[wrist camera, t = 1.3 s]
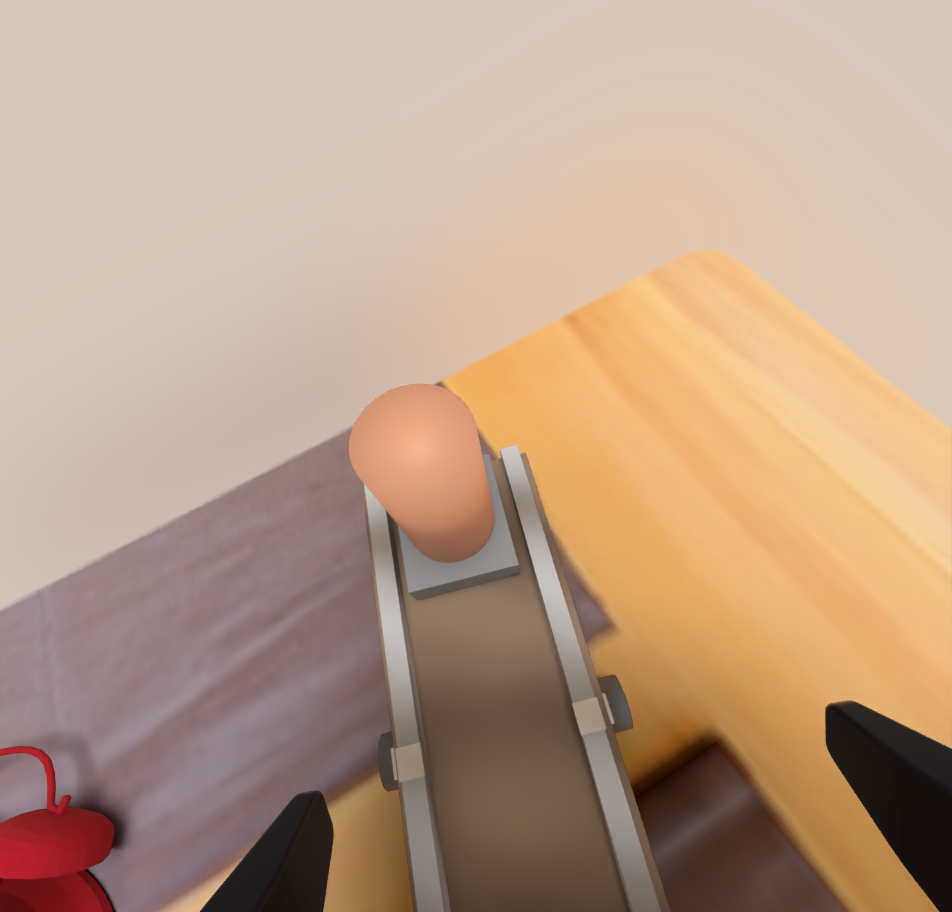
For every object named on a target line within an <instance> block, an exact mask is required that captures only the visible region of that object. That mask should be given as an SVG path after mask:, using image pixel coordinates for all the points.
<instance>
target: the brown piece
mask: <svg viewBox="0 0 952 912" xmlns="http://www.w3.org/2000/svg"><path fill="white" fill-rule="evenodd" d="M500 452H501V459H499V460H495V461H491V465H492V468H493V472H494V476H495V479H496V483H497V487H498V490H499V494H500V498H501V501H502V505H503V509H504V512H505V516H506V520H507V524H508V527H509V531H510V535H511V538H512V542H513V546H514V549H515V553H516V557H517V560H518V564H519V572H520V574H517V575H513V576H509V577H505V578H501V579H497V580H494V581H490V582H486V583H482V584H478V585H474V586H470V587H466V588H462V589H458V590H454V591H450V592H447V593H443V594H439V595H435V596H431V597H427V598H423V599H419V600H417V599H416V598H414V597H413V596H412V595H411V594H409V593H408V586H407V580H406V573H405V567H404V561H403V554H402V548H401V541H400V535H399V528H398V524H397V523H396V522H395V521H394V519H393V518H392V517H391V516H390V515H389V513H388V512H387V511H386V510H385V508H384V507H383V506H382V505H381V503H380V502H379V501H378V500H377V499H376V497H375V496H374V495H373V494H372V492H371V491H370V490H369V489H368V488H367V486H366V485H365V484H364V486H365V494H363V500H364V508H365V517H366V525H367V533H368V541H369V549H370V557H371V566H372V574H373V582H374V590H375V598H376V607H377V615H378V623H379V631H380V639H381V647H382V656H383V664H384V672H385V680H386V688H387V697H388V705H389V713H390V721H391V729H392V732H389V733H385V734H382V735H381V737H380V740H379V746H378V763H379V771H380V776H381V780H382V784H383V786H384V788H385V790H386V791H392V790H396V789H399V795H400V803H401V811H402V819H403V827H404V836H405V844H406V852H407V860H408V868H409V876H410V885H411V893H412V901H413V909H414V912H671V911H670V908H669V905H668V902H667V898H666V895H665V892H664V889H663V886H662V883H661V879H660V876H659V873H658V870H657V867H656V864H655V860H654V857H653V854H652V851H651V848H650V845H649V841H648V838H647V835H646V832H645V829H644V826H643V822H642V819H641V816H640V813H639V810H638V807H637V803H636V800H635V797H634V794H633V791H632V788H631V784H630V781H629V778H628V775H627V772H626V769H625V765H624V762H623V759H622V756H621V753H620V749H619V746H618V743H617V740H616V737H615V734H614V733H616V732H620V731H624V730H628V729H632V728H633V722H632V717H631V713H630V709H629V706H628V703H627V700H626V697H625V694H624V692H623V689H622V687H621V685H620V683H619V681H618V679H617V677H616V676H615V675H610V676H606V677H603V678H599V679H597V677H596V673H595V670H594V667H593V664H592V661H591V658H590V654H589V651H588V648H587V645H586V642H585V639H584V635H583V632H582V629H581V626H580V623H579V620H578V616H577V613H576V610H575V607H574V604H573V601H572V597H571V594H570V591H569V588H568V585H567V582H566V578H565V575H564V572H563V569H562V566H561V563H560V559H559V556H558V553H557V550H556V547H555V544H554V540H553V537H552V534H551V531H550V528H549V525H548V521H547V518H546V515H545V512H544V509H543V505H542V502H541V499H540V496H539V493H538V490H537V486H536V483H535V480H534V477H533V474H532V471H531V467H530V464H529V461H528V458H527V455H526V453H522V454H520V453H519V449H518V446H517V445H515V446H511V447H507V448H503V449H500Z"/></svg>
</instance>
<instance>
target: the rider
mask: <svg viewBox="0 0 952 912" xmlns="http://www.w3.org/2000/svg"><path fill="white" fill-rule="evenodd" d="M349 455H350V460H351V463H352V466H353V468H354V470H355V472H356V474H357V475H358V476H359V478H360V479H361V480H362V481H363V483H364V484H365V485H366V486H367V488H368V489H369V490H370V491H371V492H372V494H373V495H374V496H375V497H376V499H377V500H378V501H379V502H380V503H381V505H382V506H383V507H384V508H385V510H386V511H387V512H388V513H389V515H390V516H391V517H392V518H393V519H394V521H395V522H396V523H397V524H398V528H399V535H400V541H401V548H402V554H403V561H404V567H405V573H406V580H407V586H408V593H409V594H411V595H412V596H413V597H414V598H416V599H417V600H419V599H423V598H427V597H431V596H435V595H439V594H443V593H447V592H450V591H454V590H458V589H462V588H466V587H470V586H474V585H478V584H482V583H486V582H490V581H494V580H497V579H501V578H505V577H509V576H513V575H517V574H520V572H519V564H518V560H517V557H516V553H515V549H514V546H513V542H512V538H511V535H510V531H509V527H508V524H507V520H506V516H505V512H504V509H503V505H502V501H501V498H500V494H499V490H498V487H497V483H496V479H495V476H494V472H493V468H492V465H491V461H490V457H489V454H486V455H482V452H481V448H480V443H479V438H478V434H477V429H476V424H475V420H474V417H473V415H472V413H471V411H470V409H469V407H468V406H467V405H466V403H465V402H464V401H463V400H462V399H461V398H460V397H458V396H457V395H456V394H454V393H453V392H451V391H449V390H447V389H445V388H442V387H439V386H435V385H430V384H410V385H405V386H401V387H398V388H395V389H392V390H390V391H388V392H386V393H384V394H382V395H380V396H379V397H378V398H376V399H375V400H373V401H372V402H371V403H370V404H369V405H368V406H367V407H366V408H365V409H364V410H363V411H362V413H361V414H360V416H359V417H358V419H357V421H356V422H355V424H354V426H353V429H352V432H351V436H350V441H349Z"/></svg>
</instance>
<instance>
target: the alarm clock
mask: <svg viewBox="0 0 952 912" xmlns="http://www.w3.org/2000/svg"><path fill="white" fill-rule="evenodd" d="M13 753H26V754H31V755H33V756H35V757H37V758H39V759H40V761H41V762H42V763H43V765H44V768H45V772H46V775H47V809H40V810H34V811H31V812H27V813H23V814H20V815H18V816H15V817H13V818H10V819H8V820H6V821H4V822H2V823H1V824H0V912H113V910H112V907H111V905H110V903H109V901H108V899H107V897H106V895H105V894H104V892H103V890H102V889H101V887H100V886H99V884H98V883H97V882H96V881H95V880H94V879H93V877H92V876H91V875H90V874H89V873H88V872H86V871H85V869H87V868H90V867H92V866H94V865H96V864H99V863H101V862H102V861H103V860H104V859H105V858H106V857H107V856H108V855H109V853H110V850H111V846H112V843H113V838H114V826H113V824H112V822H111V821H110V820H109V819H108V818H106V817H105V816H104V815H102V814H100V813H97V812H94V811H90V810H85V809H78V808H67V807H68V804H69V802H70V800H71V796H70V795H65V796H63V797H62V799H61V802H60V805H59V807H58V806H57V805H56V804H55V792H56V782H55V771H54V768H53V764H52V760H51V759H50V757H49V756H48V755H47V754H46V753H45V752H43V751H42V750H41V749H37V748H34V747H30V746H17V747H11V748H5V749H0V756H2V755H8V754H13Z"/></svg>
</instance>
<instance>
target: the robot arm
mask: <svg viewBox="0 0 952 912" xmlns="http://www.w3.org/2000/svg"><path fill="white" fill-rule="evenodd" d="M825 725H826V745H827V748H828V751H829V753H830V755H831V757H832V759H833V760H834V762H835V763H836V765H837V766H838V768H839V769H840V771H841V772H842V774H843V775H844V777H845V778H846V780H847V781H848V783H849V784H850V786H851V787H852V789H853V790H854V792H855V794H856V795H857V797H858V798H859V800H860V801H861V803H862V804H863V806H864V807H865V809H866V810H867V812H868V813H869V815H870V816H871V818H872V819H873V821H874V822H875V824H876V825H877V827H878V828H879V830H880V831H881V833H882V834H883V836H884V837H885V839H886V840H887V842H888V843H889V845H890V846H891V848H892V849H893V851H894V852H895V854H896V855H897V856H898V858H899V859H900V861H901V862H902V863H903V865H904V866H905V867H906V869H907V870H908V871H909V873H910V874H911V875H912V877H913V878H914V879H915V881H916V882H917V883H918V885H919V886H920V887H921V888H922V890H923V891H924V892H925V894H926V895H927V896H928V897H929V899H930V900H931V901H932V903H933V904H934V905H935V906H936V908H937V909H938V910H939V912H952V749H951V748H949V747H947V746H945V745H943V744H941V743H939V742H937V741H935V740H933V739H931V738H929V737H927V736H925V735H923V734H921V733H919V732H917V731H915V730H912V729H910V728H908V727H906V726H904V725H902V724H900V723H898V722H896V721H894V720H892V719H890V718H888V717H886V716H884V715H882V714H880V713H878V712H876V711H874V710H872V709H870V708H868V707H866V706H863V705H861V704H859V703H857V702H854V701H842V702H836V703H830V704H828V705H827V707H826V710H825ZM333 836H334V832H333V824H332V821H331V818H330V815H329V812H328V809H327V806H326V803H325V800H324V797H323V795H322V793H321V792H320V791H317V790H316V791H310V792H304V793H299V794H297V795H296V796H295V797H294V798H293V799H292V800H291V801H290V803H289V804H288V805H287V806H286V807H285V809H284V810H283V811H282V812H281V813H280V815H279V816H278V817H277V818H276V820H275V821H274V822H273V823H272V824H271V826H270V827H269V828H268V829H267V830H266V832H265V833H264V834H263V835H262V836H261V838H260V839H259V840H258V841H257V843H256V844H255V845H254V846H253V847H252V849H251V850H250V851H249V852H248V853H247V855H246V856H245V857H244V858H243V860H242V861H241V862H240V863H239V864H238V866H237V867H236V868H235V869H234V870H233V872H232V873H231V874H230V875H229V877H228V878H227V879H226V880H225V881H224V883H223V884H222V885H221V886H220V887H219V889H218V890H217V891H216V892H215V894H214V895H213V896H212V897H211V898H210V900H209V901H208V902H207V903H206V904H205V906H204V907H203V908H202V909H201V911H200V912H323V909H324V902H325V895H326V888H327V881H328V874H329V867H330V860H331V853H332V846H333Z"/></svg>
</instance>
